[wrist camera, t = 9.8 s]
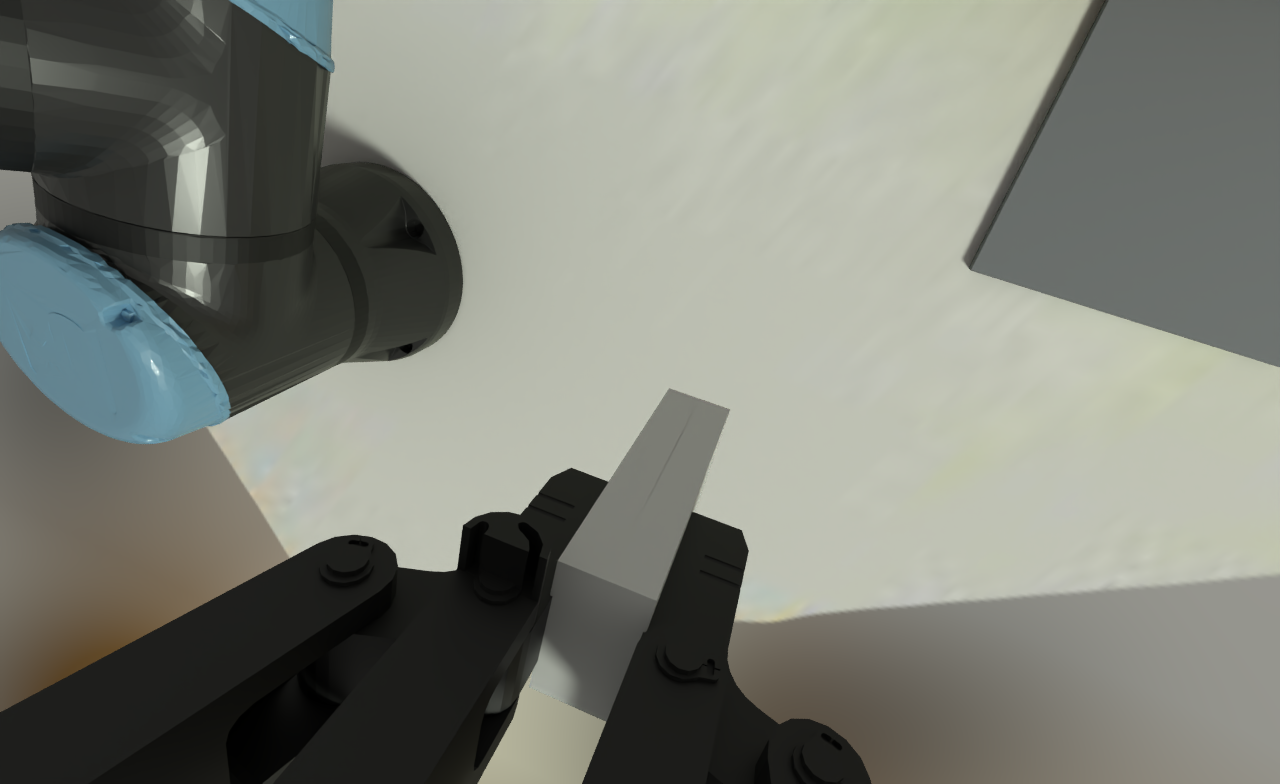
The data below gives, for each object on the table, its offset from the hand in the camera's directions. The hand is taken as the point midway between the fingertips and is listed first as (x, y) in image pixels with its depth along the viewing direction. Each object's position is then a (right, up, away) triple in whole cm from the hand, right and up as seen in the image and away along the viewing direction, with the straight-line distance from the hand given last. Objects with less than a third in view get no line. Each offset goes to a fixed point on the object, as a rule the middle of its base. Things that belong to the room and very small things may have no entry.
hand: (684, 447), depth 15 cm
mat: (+29, +13, +18) cm, 36 cm away
